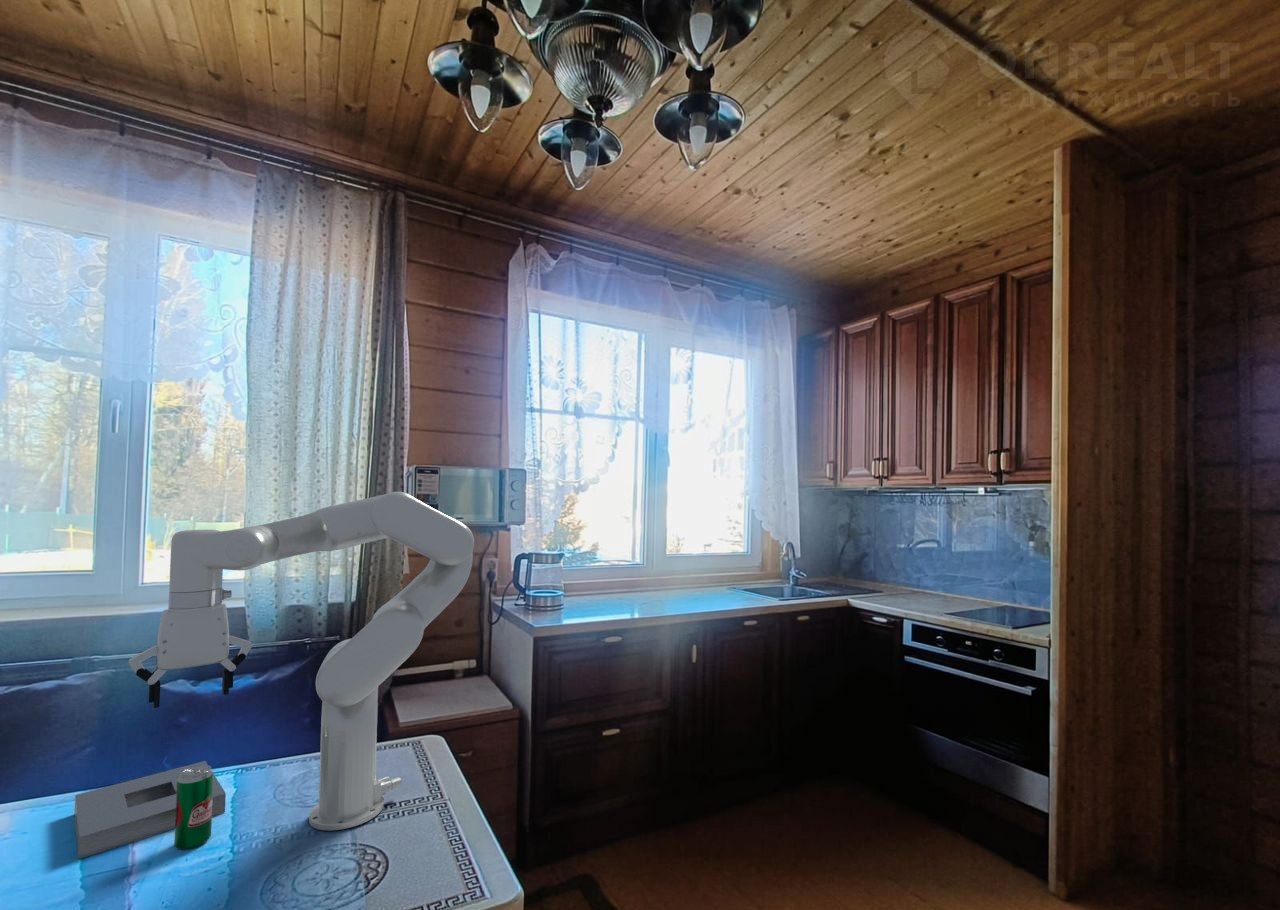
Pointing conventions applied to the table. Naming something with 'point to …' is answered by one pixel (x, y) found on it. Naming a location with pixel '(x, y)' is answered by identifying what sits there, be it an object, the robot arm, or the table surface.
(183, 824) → the soda can
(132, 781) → the bore block
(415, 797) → the table surface
